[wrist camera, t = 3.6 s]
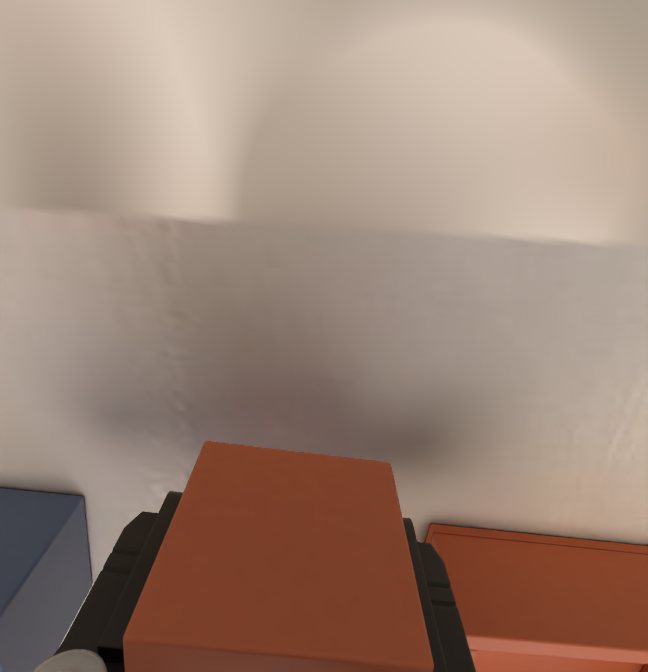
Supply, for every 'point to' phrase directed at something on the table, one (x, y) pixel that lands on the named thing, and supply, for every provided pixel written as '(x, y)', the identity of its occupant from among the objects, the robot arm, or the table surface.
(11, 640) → the blue block
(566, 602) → the terracotta bin
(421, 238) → the table surface
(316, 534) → the terracotta block
